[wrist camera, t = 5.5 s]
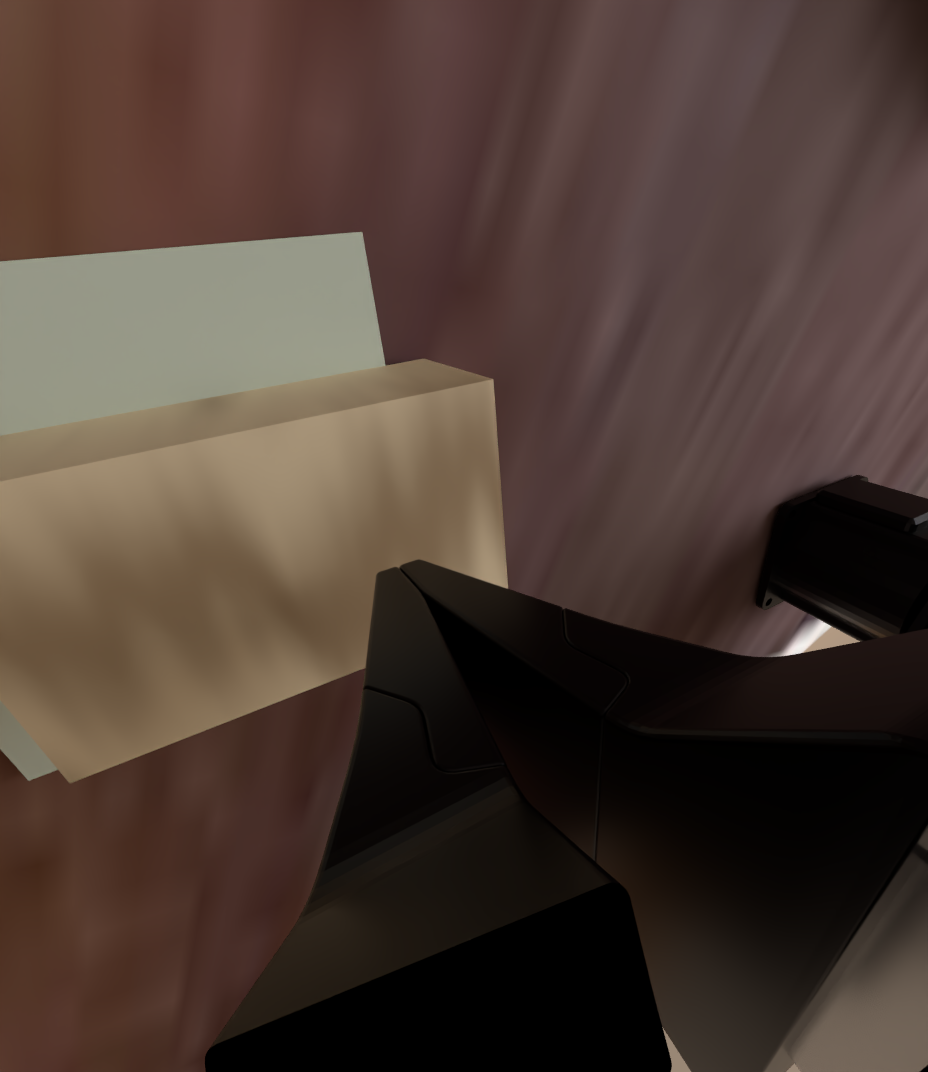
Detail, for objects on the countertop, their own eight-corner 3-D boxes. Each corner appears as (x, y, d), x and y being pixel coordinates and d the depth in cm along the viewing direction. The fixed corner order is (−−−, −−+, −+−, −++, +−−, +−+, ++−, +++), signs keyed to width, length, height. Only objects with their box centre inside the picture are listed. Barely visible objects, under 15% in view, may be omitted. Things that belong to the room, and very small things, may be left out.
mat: (426, 621, 17) (431, 628, 17) (33, 768, 13) (28, 780, 13) (357, 233, 11) (362, 231, 11) (-379, 294, 8) (-407, 294, 7)
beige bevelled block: (509, 611, 13) (69, 783, 9) (449, 547, 16) (107, 658, 13) (493, 379, 10) (-155, 513, 6) (423, 359, 13) (-31, 441, 10)
